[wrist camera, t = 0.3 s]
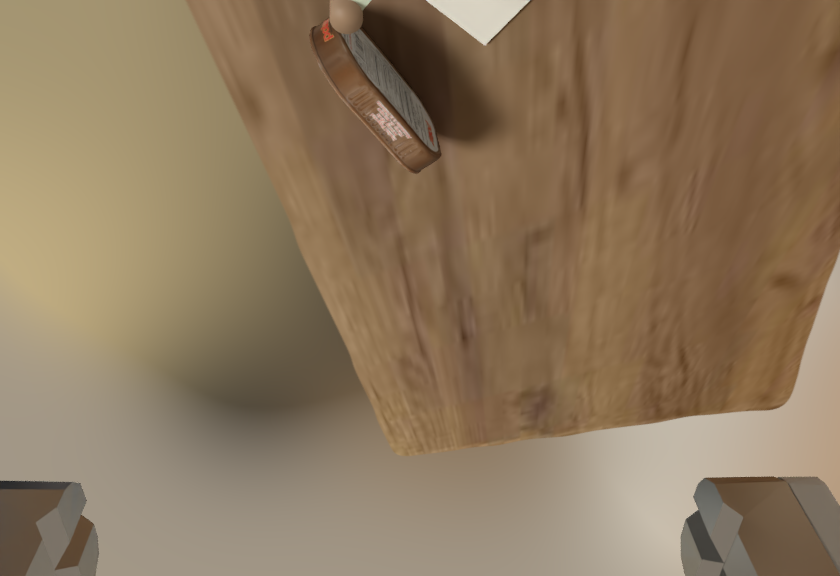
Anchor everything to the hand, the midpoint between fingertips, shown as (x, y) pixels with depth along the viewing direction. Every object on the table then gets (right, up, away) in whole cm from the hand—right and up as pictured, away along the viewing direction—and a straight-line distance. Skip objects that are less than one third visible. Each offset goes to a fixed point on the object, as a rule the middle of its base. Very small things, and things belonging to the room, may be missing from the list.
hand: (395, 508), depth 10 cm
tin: (-3, +22, +54) cm, 58 cm away
